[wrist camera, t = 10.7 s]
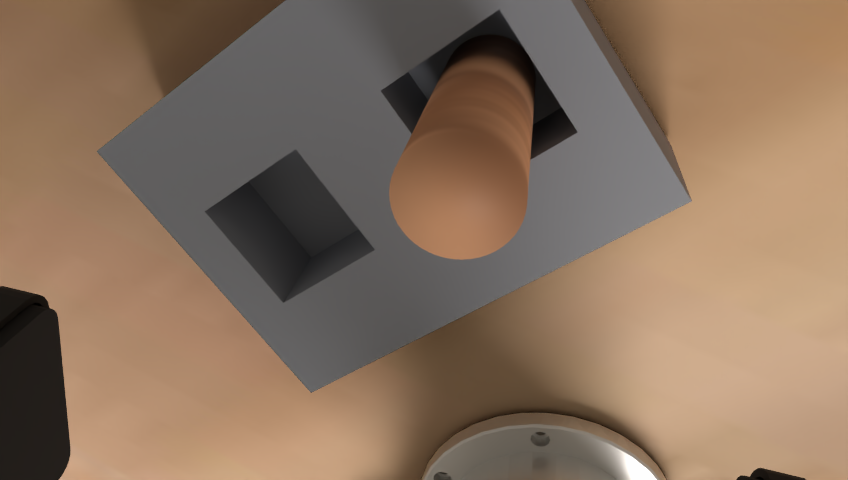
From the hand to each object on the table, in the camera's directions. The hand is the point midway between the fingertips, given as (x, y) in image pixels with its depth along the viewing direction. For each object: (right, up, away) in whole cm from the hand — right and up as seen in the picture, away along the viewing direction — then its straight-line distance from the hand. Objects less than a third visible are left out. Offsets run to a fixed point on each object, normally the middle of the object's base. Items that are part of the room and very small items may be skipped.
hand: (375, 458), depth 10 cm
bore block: (0, +7, +19) cm, 20 cm away
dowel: (+3, +9, +16) cm, 18 cm away
